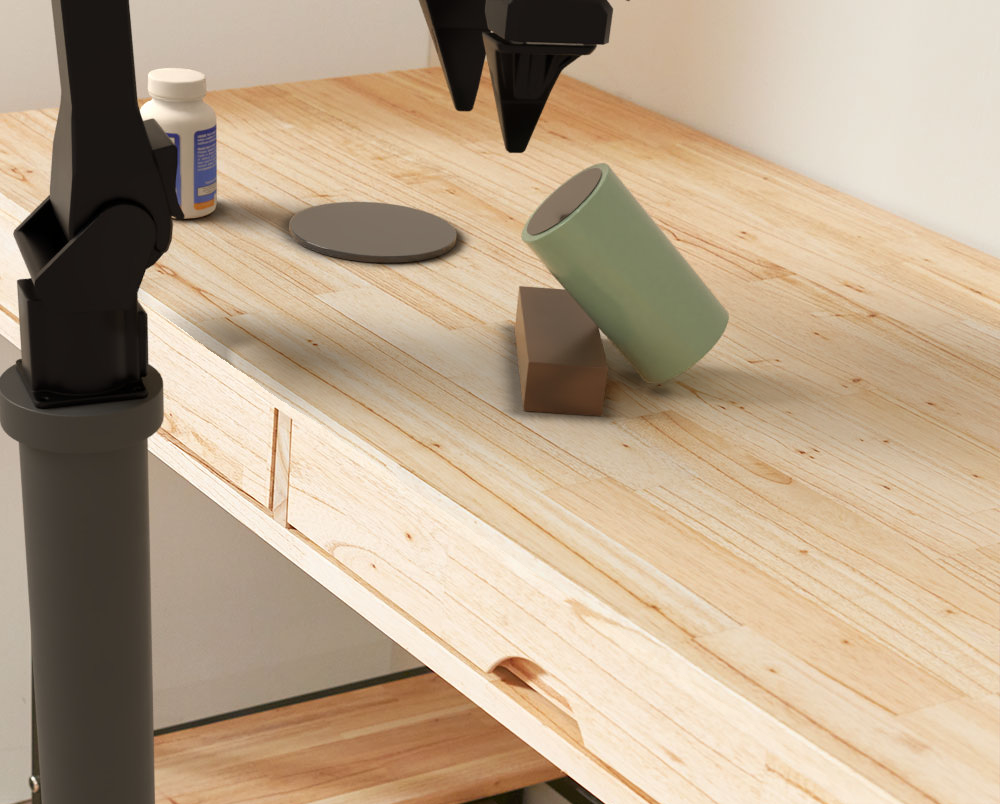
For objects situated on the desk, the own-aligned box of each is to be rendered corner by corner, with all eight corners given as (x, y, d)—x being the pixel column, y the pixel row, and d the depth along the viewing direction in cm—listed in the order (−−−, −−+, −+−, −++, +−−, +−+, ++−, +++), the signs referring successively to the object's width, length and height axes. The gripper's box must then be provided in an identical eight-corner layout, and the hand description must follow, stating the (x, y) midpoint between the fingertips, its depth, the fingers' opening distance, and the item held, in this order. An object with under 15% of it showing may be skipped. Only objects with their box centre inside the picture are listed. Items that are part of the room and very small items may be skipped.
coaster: (323, 268, 104) (323, 261, 104) (266, 212, 113) (266, 206, 113) (483, 256, 109) (483, 250, 109) (416, 203, 118) (417, 197, 118)
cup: (510, 389, 89) (531, 176, 83) (506, 346, 95) (526, 144, 89) (724, 404, 90) (761, 194, 84) (708, 360, 96) (741, 161, 90)
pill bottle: (205, 195, 115) (204, 64, 111) (226, 218, 111) (226, 82, 107) (132, 199, 113) (129, 65, 109) (151, 222, 109) (148, 84, 104)
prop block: (523, 411, 87) (528, 361, 85) (514, 330, 97) (519, 285, 96) (602, 416, 87) (608, 367, 86) (584, 335, 97) (590, 290, 96)
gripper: (718, -110, 82) (672, 176, 89) (582, -154, 97) (552, 94, 105) (525, -124, 78) (493, 176, 85) (414, -167, 93) (395, 91, 101)
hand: (488, 130), depth 94 cm, fingers open, 9 cm apart
